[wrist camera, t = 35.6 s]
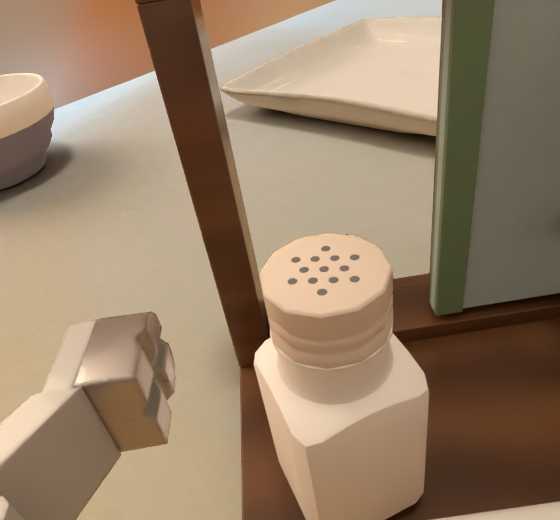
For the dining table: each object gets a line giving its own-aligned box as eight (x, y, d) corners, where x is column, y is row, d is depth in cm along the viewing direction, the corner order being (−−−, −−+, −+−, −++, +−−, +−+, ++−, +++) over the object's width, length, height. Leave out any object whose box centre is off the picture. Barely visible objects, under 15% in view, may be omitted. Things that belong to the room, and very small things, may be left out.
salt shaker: (323, 561, 15) (280, 355, 10) (275, 458, 19) (221, 255, 13) (431, 504, 16) (447, 285, 11) (367, 414, 19) (355, 208, 14)
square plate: (363, 45, 68) (362, 14, 65) (585, 57, 51) (594, 17, 49) (221, 116, 53) (213, 80, 51) (469, 166, 37) (474, 115, 34)
